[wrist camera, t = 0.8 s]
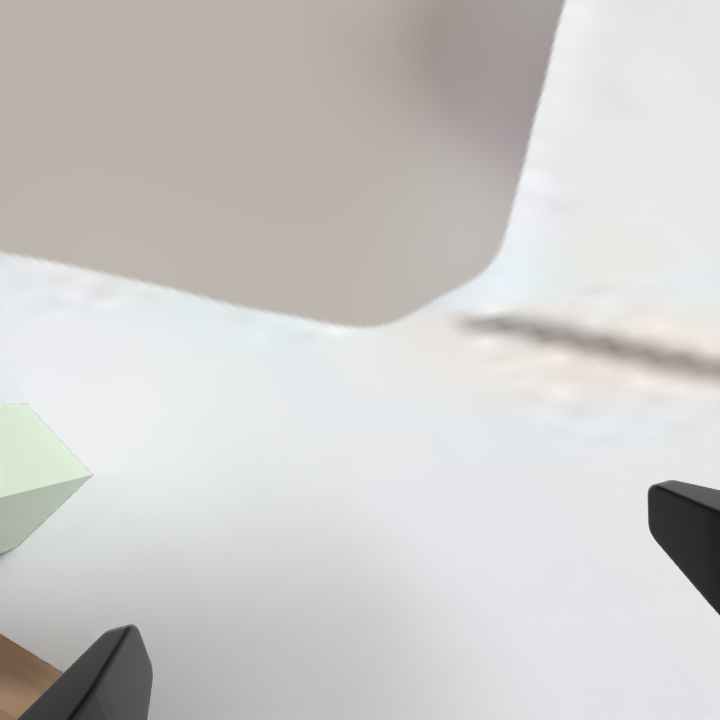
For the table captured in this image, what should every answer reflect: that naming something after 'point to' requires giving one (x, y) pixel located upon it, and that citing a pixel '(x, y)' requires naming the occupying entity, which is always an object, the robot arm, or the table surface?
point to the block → (32, 473)
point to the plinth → (21, 679)
